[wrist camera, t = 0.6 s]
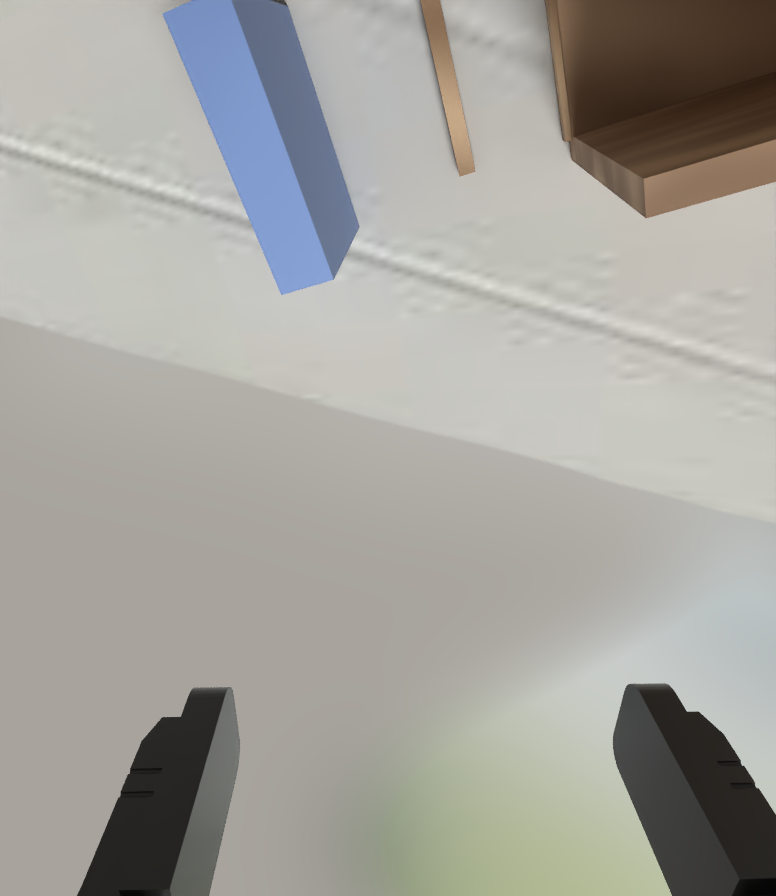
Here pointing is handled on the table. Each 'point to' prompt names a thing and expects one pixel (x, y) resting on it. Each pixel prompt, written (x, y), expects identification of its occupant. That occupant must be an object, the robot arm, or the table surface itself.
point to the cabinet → (652, 95)
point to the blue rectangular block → (269, 133)
